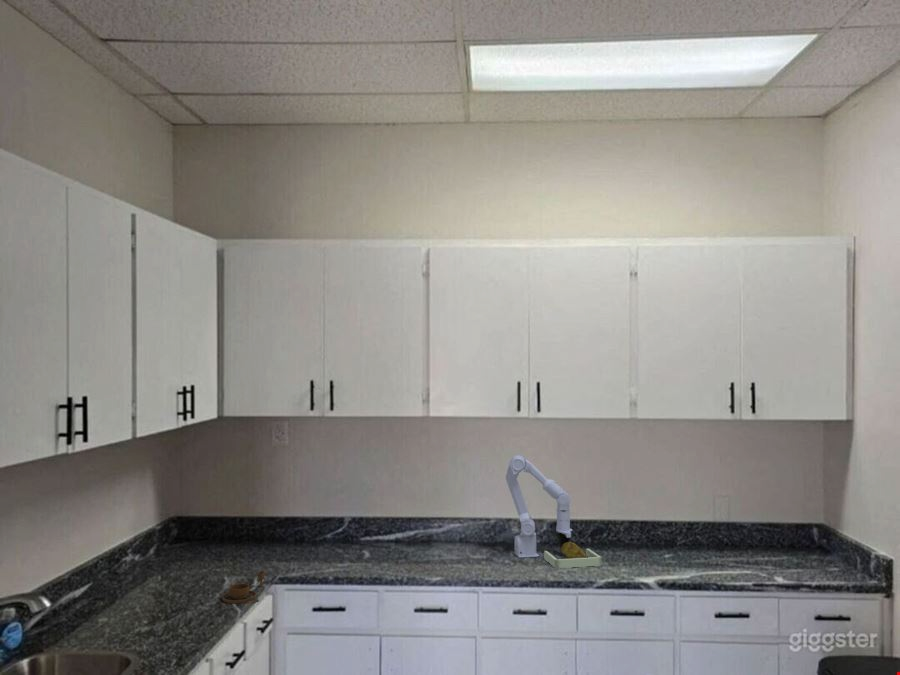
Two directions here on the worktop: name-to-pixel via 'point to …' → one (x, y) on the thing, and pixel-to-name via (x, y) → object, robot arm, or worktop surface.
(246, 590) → the place setting
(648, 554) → the worktop surface
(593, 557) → the pale green rail frame
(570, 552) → the potato
